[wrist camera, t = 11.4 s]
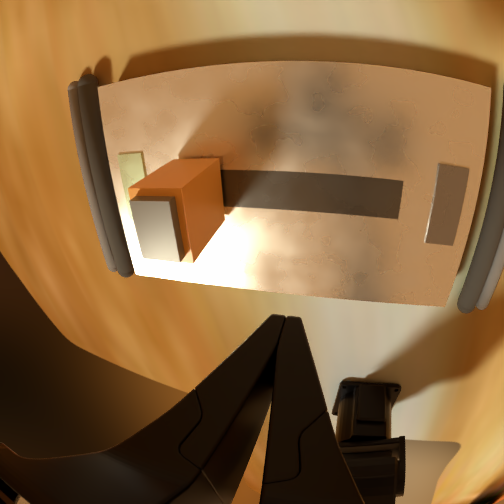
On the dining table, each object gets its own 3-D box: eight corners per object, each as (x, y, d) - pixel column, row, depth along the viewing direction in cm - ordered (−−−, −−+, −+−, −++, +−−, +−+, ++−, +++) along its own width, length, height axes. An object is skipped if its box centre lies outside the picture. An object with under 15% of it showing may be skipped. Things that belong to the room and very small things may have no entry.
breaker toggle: (225, 220, 20) (188, 270, 15) (182, 217, 21) (138, 264, 16) (219, 158, 18) (175, 193, 13) (173, 159, 18) (120, 192, 14)
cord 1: (139, 271, 28) (130, 282, 26) (114, 268, 28) (105, 277, 27) (101, 71, 18) (87, 72, 17) (74, 79, 19) (60, 82, 18)
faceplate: (439, 289, 21) (445, 308, 19) (147, 261, 27) (135, 275, 25) (477, 85, 13) (492, 88, 11) (115, 83, 19) (96, 87, 17)
